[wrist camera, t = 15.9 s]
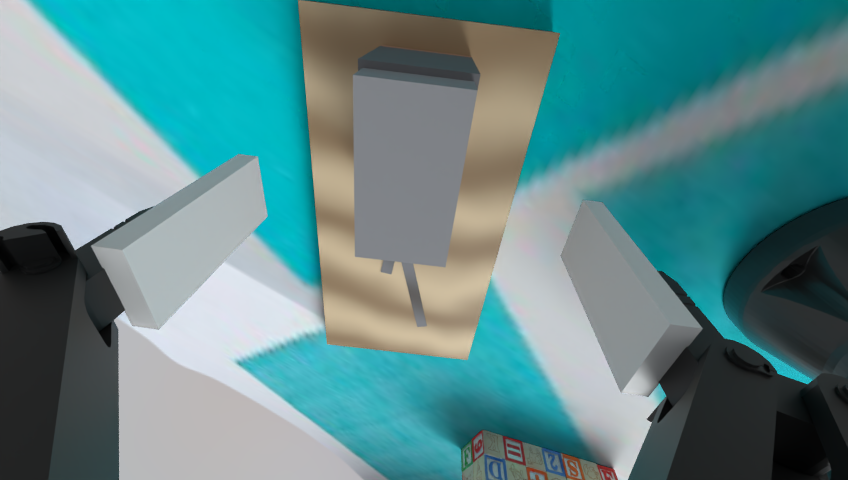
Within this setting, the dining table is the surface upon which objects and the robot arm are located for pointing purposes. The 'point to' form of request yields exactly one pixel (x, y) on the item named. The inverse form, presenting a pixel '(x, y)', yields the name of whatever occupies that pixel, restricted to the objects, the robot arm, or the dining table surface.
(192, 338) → the dining table surface
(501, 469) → the stack of blocks
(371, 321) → the plank
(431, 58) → the block
